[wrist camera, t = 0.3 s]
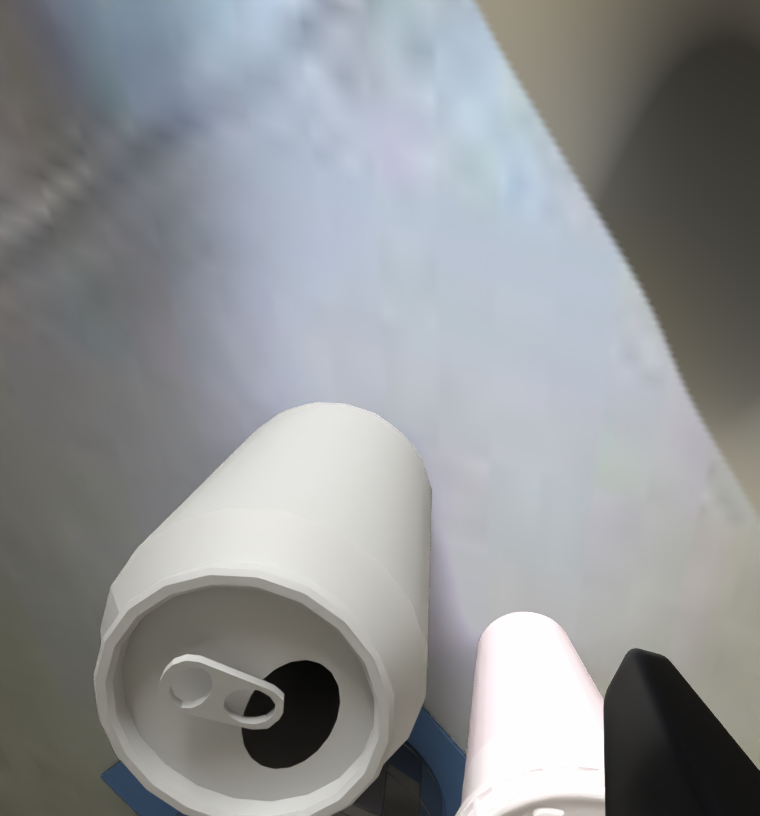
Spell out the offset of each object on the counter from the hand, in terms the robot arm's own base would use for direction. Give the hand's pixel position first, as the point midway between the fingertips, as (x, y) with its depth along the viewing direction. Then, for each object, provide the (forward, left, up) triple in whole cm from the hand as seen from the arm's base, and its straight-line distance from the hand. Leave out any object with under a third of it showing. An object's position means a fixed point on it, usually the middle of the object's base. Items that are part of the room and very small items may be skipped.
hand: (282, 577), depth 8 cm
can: (-4, -3, -15) cm, 16 cm away
